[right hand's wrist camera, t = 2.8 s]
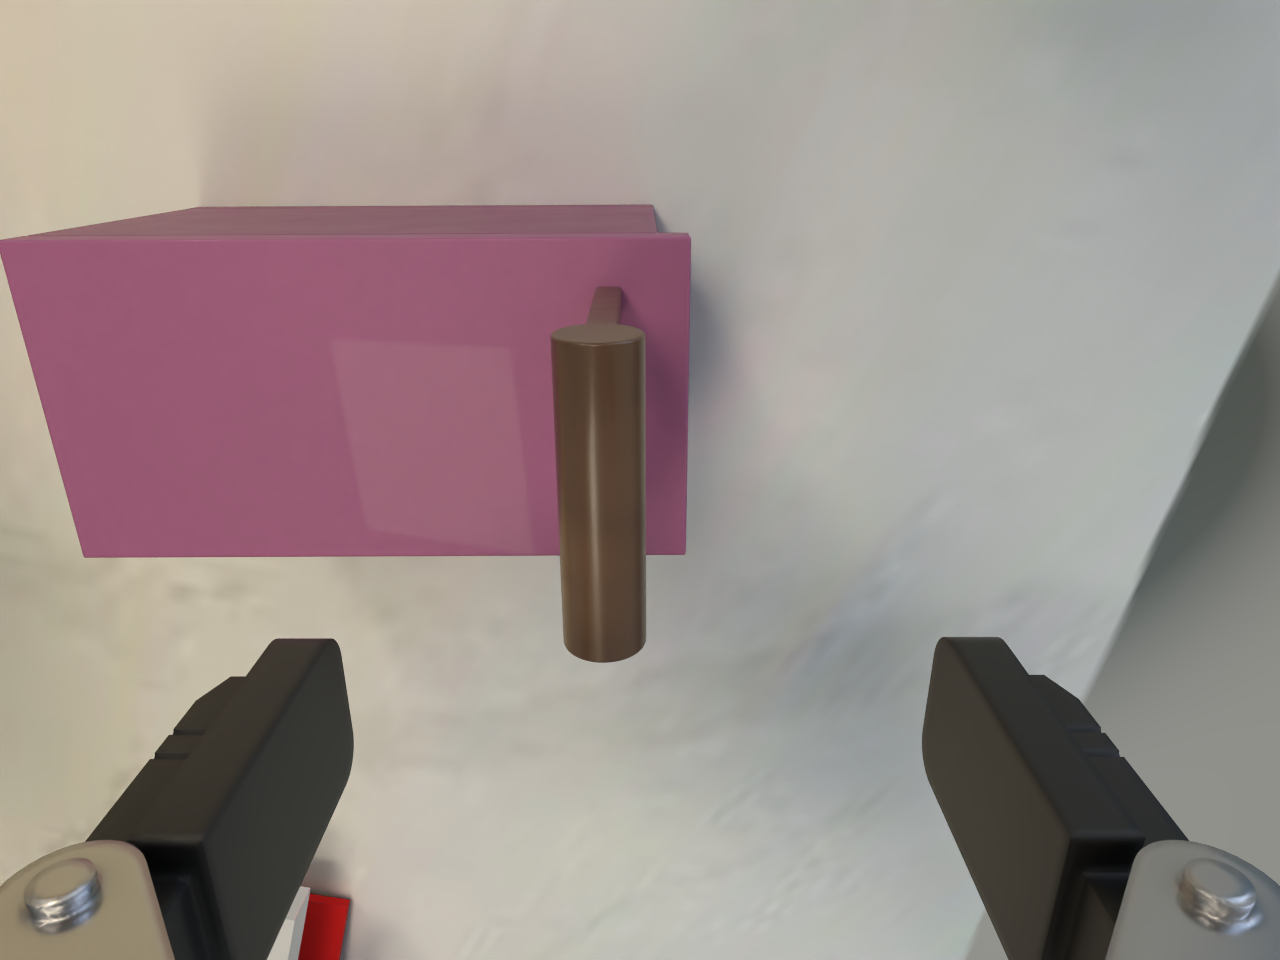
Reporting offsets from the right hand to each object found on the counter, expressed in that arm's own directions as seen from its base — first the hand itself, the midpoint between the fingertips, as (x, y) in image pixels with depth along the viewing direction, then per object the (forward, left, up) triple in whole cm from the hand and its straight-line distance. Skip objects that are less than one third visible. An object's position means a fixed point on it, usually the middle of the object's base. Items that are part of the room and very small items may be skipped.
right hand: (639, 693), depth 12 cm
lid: (-5, -6, -15) cm, 17 cm away
